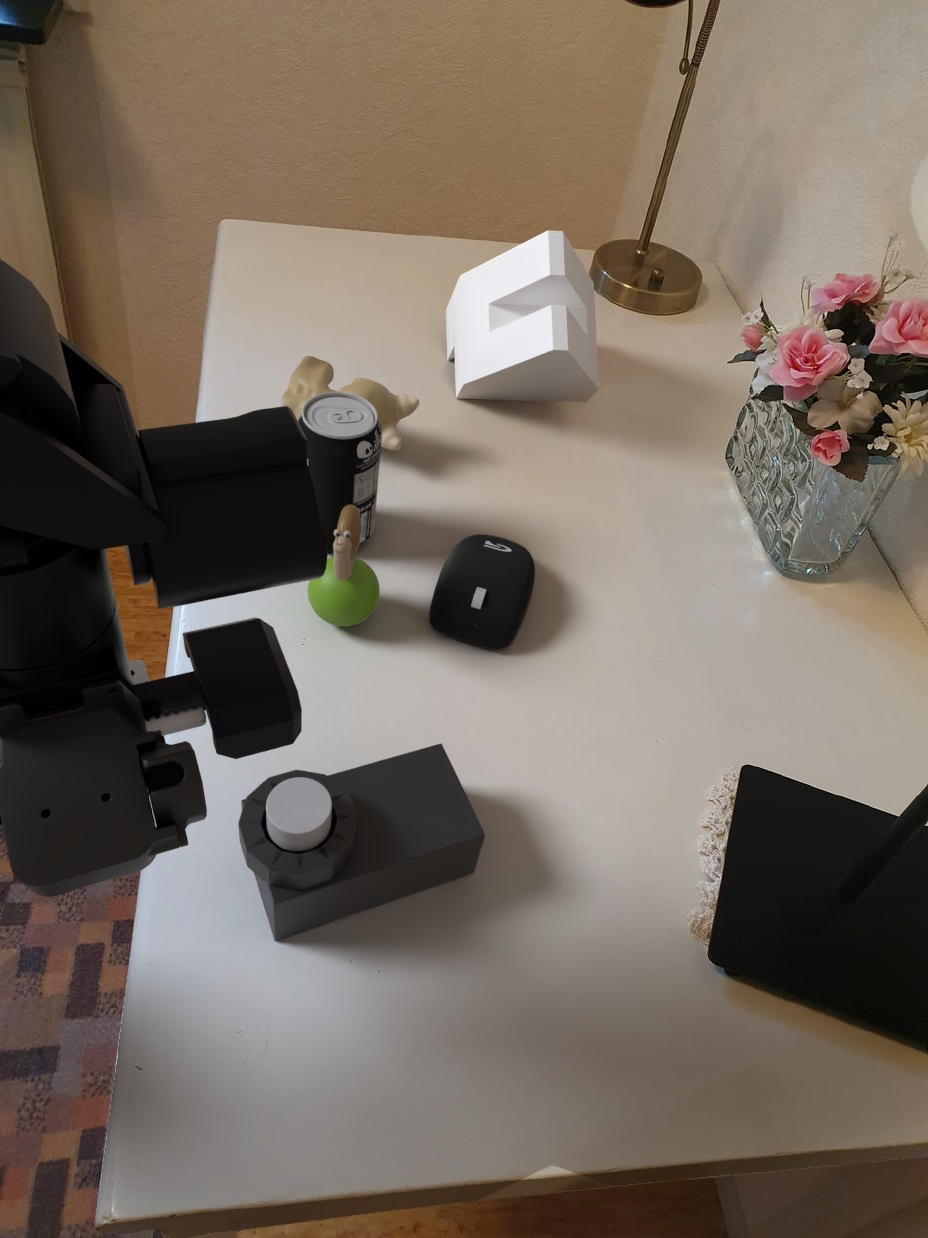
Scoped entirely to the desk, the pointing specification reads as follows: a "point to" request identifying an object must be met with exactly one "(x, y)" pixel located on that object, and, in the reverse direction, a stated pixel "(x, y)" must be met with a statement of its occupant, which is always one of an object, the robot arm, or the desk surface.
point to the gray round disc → (298, 814)
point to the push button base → (365, 841)
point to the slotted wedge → (525, 325)
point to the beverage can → (343, 458)
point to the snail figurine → (345, 578)
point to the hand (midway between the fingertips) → (99, 827)
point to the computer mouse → (483, 591)
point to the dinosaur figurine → (319, 374)
